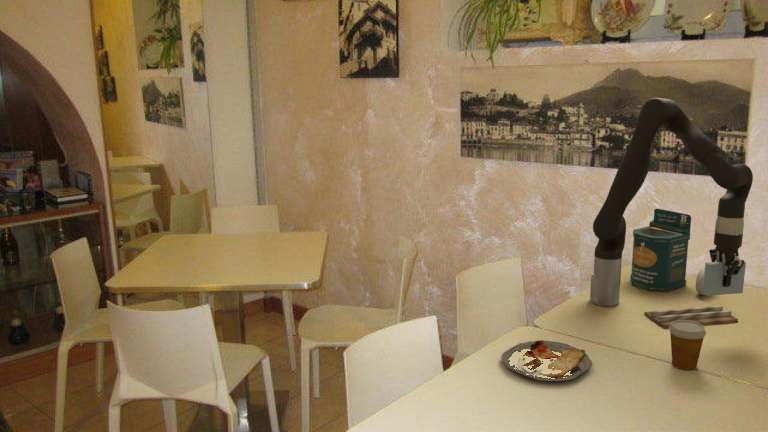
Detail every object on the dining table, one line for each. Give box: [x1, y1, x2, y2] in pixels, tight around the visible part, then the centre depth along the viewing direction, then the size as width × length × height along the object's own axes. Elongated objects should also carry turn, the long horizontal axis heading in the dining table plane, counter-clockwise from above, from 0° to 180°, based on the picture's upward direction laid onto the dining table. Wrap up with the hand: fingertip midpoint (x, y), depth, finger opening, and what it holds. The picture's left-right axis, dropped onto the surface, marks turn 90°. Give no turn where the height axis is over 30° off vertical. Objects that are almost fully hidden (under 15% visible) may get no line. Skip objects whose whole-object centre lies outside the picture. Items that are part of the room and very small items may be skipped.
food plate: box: [500, 339, 593, 382], centre depth 183 cm, size 25×23×4 cm
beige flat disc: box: [695, 267, 705, 296], centre depth 234 cm, size 10×4×10 cm, turn 137°
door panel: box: [703, 260, 747, 297], centre depth 195 cm, size 12×2×10 cm, turn 98°
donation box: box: [629, 208, 692, 293], centre depth 244 cm, size 16×16×28 cm
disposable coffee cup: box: [668, 320, 707, 371], centre depth 180 cm, size 10×10×12 cm
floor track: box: [643, 305, 739, 329], centre depth 213 cm, size 26×12×2 cm, turn 98°
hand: (723, 284), depth 196 cm, fingers closed on door panel, 2 cm apart
